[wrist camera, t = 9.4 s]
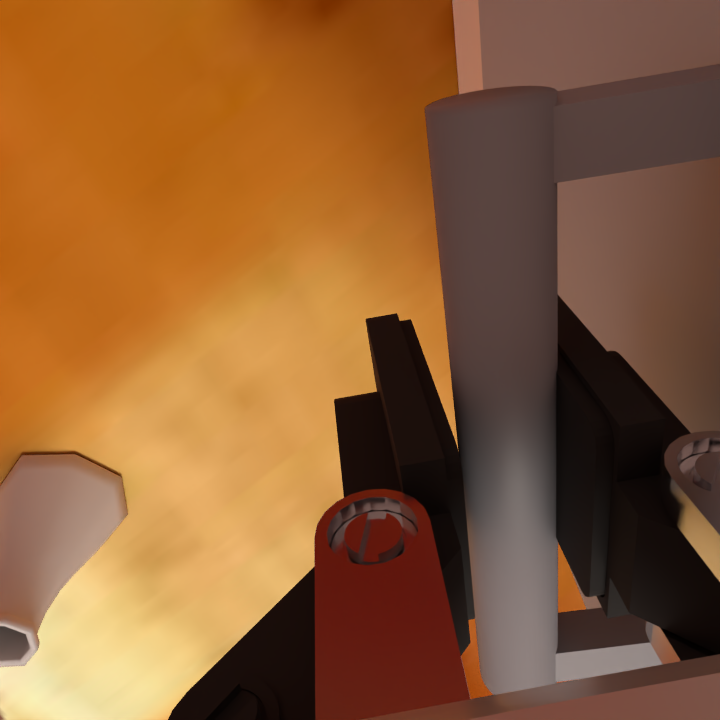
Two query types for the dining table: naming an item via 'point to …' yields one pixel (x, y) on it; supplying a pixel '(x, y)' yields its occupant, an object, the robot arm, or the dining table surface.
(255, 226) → the dining table surface
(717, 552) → the robot arm
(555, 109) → the lid flap
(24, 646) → the flask
